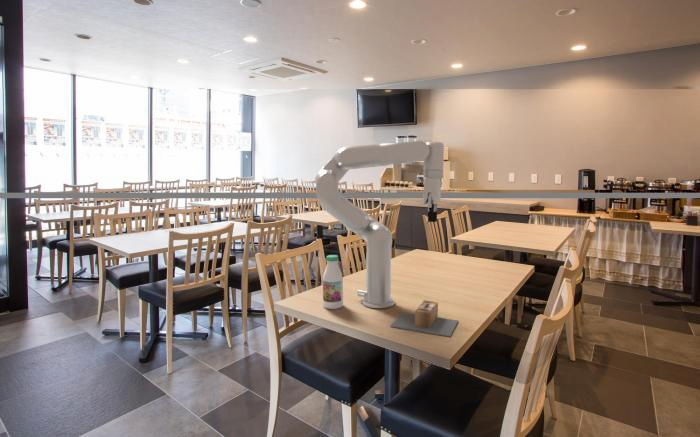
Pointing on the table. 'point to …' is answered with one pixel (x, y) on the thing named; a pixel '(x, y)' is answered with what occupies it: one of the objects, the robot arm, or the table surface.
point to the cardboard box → (426, 313)
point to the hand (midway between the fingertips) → (432, 221)
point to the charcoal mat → (437, 328)
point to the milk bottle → (332, 284)
